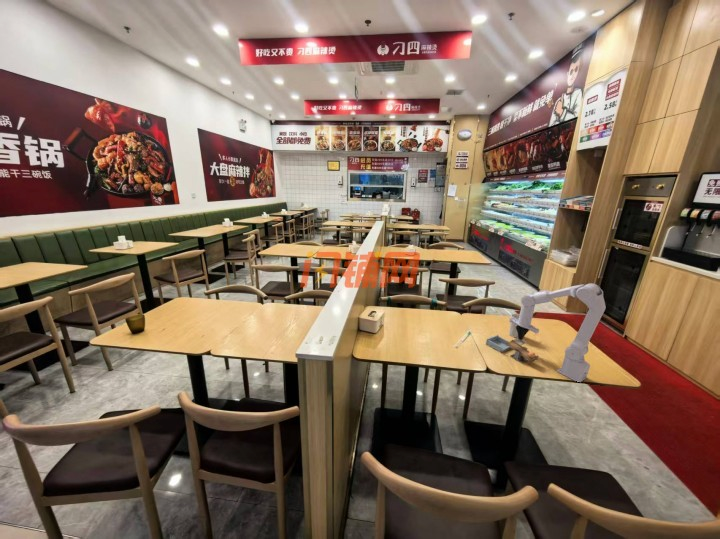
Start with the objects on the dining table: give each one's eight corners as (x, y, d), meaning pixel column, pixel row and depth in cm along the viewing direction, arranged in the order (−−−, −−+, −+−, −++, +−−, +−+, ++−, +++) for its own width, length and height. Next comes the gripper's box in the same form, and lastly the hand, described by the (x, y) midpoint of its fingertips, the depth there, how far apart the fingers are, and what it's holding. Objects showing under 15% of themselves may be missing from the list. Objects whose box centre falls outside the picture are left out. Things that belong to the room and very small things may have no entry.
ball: (534, 358, 138) (537, 354, 137) (531, 359, 137) (534, 355, 135) (529, 353, 140) (532, 349, 139) (526, 355, 139) (528, 351, 138)
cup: (524, 339, 161) (528, 320, 158) (509, 337, 163) (513, 318, 159) (519, 332, 169) (523, 314, 165) (505, 330, 170) (509, 312, 167)
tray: (511, 348, 152) (512, 342, 151) (501, 352, 147) (502, 347, 146) (496, 340, 159) (497, 334, 158) (485, 344, 155) (486, 338, 154)
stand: (529, 358, 143) (531, 350, 141) (521, 362, 139) (523, 354, 138) (518, 352, 148) (520, 344, 146) (510, 356, 144) (511, 348, 143)
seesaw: (544, 355, 142) (546, 352, 141) (531, 362, 136) (532, 359, 135) (519, 338, 153) (520, 335, 151) (505, 344, 147) (507, 340, 145)
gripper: (544, 320, 141) (538, 343, 145) (516, 309, 153) (512, 331, 157) (536, 323, 138) (530, 347, 142) (509, 311, 150) (504, 334, 154)
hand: (520, 339), depth 149 cm, fingers closed
